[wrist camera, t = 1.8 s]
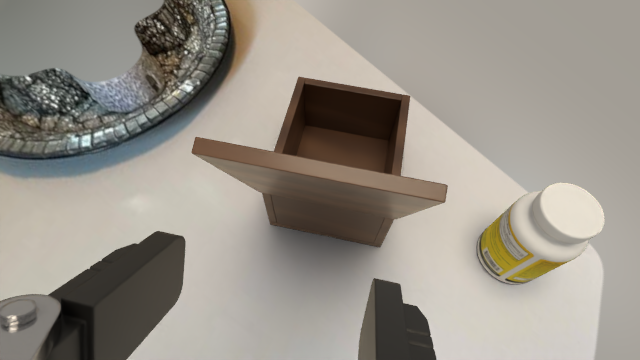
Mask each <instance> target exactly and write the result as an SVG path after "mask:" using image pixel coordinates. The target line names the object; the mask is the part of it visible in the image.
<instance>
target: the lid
mask: <svg viewBox="0 0 640 360" xmlns="http://www.w3.org/2000/svg"><path fill="white" fill-rule="evenodd" d="M192 154H194V155H196V156H198V157H199V158H201V159H203V160H205V161H206V162H208V163H210V164H212V165H213V166H215V167H217V168H218V169H220V170H222V171H224V172H225V173H227V174H229V175H231V176H232V177H234V178H236V179H238V180H239V181H241V182H243V183H245V184H246V185H248V186H250V187H252V188H253V189H255V190H257V191H259V192H261V193H266V194H271V195H276V196H281V197H286V198H291V199H296V200H301V201H306V202H311V203H316V204H321V205H326V206H330V207H335V208H340V209H345V210H350V211H355V212H360V213H365V214H370V215H375V216H380V217H385V218H390V219H398V218H401V217H404V216H407V215H410V214H413V213H416V212H418V211H421V210H424V209H427V208H430V207H433V206H436V205H439V204H442V203H444V202H445V199H446V193H447V187H448V186H447V185H445V184H440V183H435V182H430V181H424V180H419V179H414V178H409V177H403V176H398V175H393V174H388V173H382V172H377V171H372V170H367V169H362V168H356V167H351V166H346V165H341V164H335V163H330V162H325V161H320V160H314V159H309V158H304V157H299V156H294V155H288V154H283V153H278V152H273V151H267V150H262V149H257V148H252V147H246V146H241V145H236V144H231V143H226V142H220V141H215V140H210V139H205V138H199V137H196V138H195V141H194V145H193V149H192Z"/></svg>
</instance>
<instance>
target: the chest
mask: <svg viewBox="0 0 640 360" xmlns="http://www.w3.org/2000/svg"><path fill="white" fill-rule="evenodd" d="M409 101H410V96H408V95H402V94H396V93H390V92H384V91H379V90H373V89H367V88H361V87H355V86H350V85H344V84H338V83H332V82H326V81H321V80H315V79H309V78H303V77H298V80H297V83H296V86H295V89H294V92H293V95H292V98H291V101H290V104H289V107H288V110H287V113H286V116H285V119H284V123H283V126H282V129H281V132H280V135H279V138H278V141H277V144H276V147H275V150H274V152H278V153H283V154H288V155H294V156H299V157H304V158H309V159H314V160H320V161H325V162H330V163H335V164H341V165H346V166H351V167H356V168H362V169H367V170H372V171H377V172H382V173H388V174H393V175H398V176H400V175H401V167H402V159H403V150H404V142H405V134H406V126H407V118H408V110H409ZM262 194H263V198H264V202H265V206H266V210H267V214H268V218H269V221H270V224H271V225H276V226H280V227H285V228H290V229H295V230H300V231H304V232H309V233H314V234H319V235H324V236H328V237H333V238H338V239H343V240H348V241H352V242H357V243H362V244H367V245H372V246H376V247H380V246H381V245H382V243H383V241H384V239H385V237H386V235H387V233H388V231H389V229H390V227H391V225H392V223H393V221H394V219H390V218H385V217H380V216H375V215H370V214H365V213H360V212H355V211H350V210H345V209H340V208H335V207H330V206H326V205H321V204H316V203H311V202H306V201H301V200H296V199H291V198H286V197H281V196H276V195H271V194H266V193H262Z"/></svg>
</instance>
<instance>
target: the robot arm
mask: <svg viewBox="0 0 640 360" xmlns="http://www.w3.org/2000/svg"><path fill="white" fill-rule="evenodd" d="M184 259H185V239H184V237H183V236H179V235H174V234H170V233H165V232H160V231H156V232H154V233H153V234H152V235H150V236H149V237H147V238H146V239H144V240H143V241H142V242H140V243H139V244H132V245H129V246H126V247H123V248H120V249H117V250H115V251H114V252H112V253H111V254H109V255H108V256H106V257H105V258H103V259H102V261H99V262H97V263H96V264H94V265H93V266H91V267H90V269H87V270H85V271H84V272H82V273H81V274H79V275H78V276H76V277H74V278H73V279H71V280H70V281H68V282H67V283H65V284H64V285H62V286H61V287H59V288H58V289H56V290H55V291H53V292H52V293H50V294H49V295H41V294H29V295H21V296H16V297H12V298H8V299H5V300H2V301H0V360H126V359H127V358H128V357H129V356H130V355H131V354H132V353H133V351H134V350H135V349H136V348H137V347H138V346H139V345H140V344H141V342H142V341H143V340H144V339H145V338H146V337H147V336H148V334H149V333H150V332H151V331H152V330H153V329H154V328H155V326H156V325H157V324H158V323H159V322H160V321H161V320H162V318H163V317H164V316H165V315H166V314H167V313H168V312H169V310H170V309H171V308H172V307H173V306H174V305H175V303H176V302H177V300H178V298H179V296H180V293H181V290H182V285H183V273H184ZM430 335H431V334H430V330H429V325H428V321H427V319H426V318H425V316H424V315H423V314H422V312H421V311H420V310H419V309H418V307H417V306H413V305H409V304H404V303H403V300H402V293H401V286H400V284H398V283H393V282H389V281H384V280H380V279H375V278H374V279H373V281H372V285H371V289H370V293H369V298H368V302H367V306H366V311H365V315H364V319H363V324H362V328H361V334H360V341H359V353H358V360H436V355H435V351H434V349H433V342H432V338H431V337H430Z"/></svg>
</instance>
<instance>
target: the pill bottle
mask: <svg viewBox="0 0 640 360" xmlns="http://www.w3.org/2000/svg"><path fill="white" fill-rule="evenodd" d="M604 219H605V218H604V213H603V210H602V207H601V206H600V204H599V203H598V201H597V200H596V199H595V198H594V197H593V196H592V195H591V194H590V193H589V192H587V191H586V190H584V189H582V188H580V187H578V186H576V185H573V184H569V183H556V184H552V185H550V186H548V187H546V188H545V189H544V190H542V191H538V192H532V193H528V194H526V195H524V196H522V197H521V198H519V199H518V200H517V201H516V202H515V203H514V204H513V205H511V206H510V207H509V208H508V209H507V210H506V211H505V212H504V213H503V214H502V215H501V216H500V217H499V218H497V219H496V220H495V221H494V222H493V223H492V224H491V225H490V226H489V227H488V228H487V229H486V230H485V231H484V232H483V233H482V234H481V236H480V238H479V240H478V245H477V251H478V256H479V259H480V261H481V263H482V265H483V266H484V268H485V269H486V270H487V271H488V272H489V273H490V274H491V275H492V276H493V277H495V278H497V279H498V280H500V281H503V282H505V283H509V284H523V283H526V282H529V281H531V280H533V279H535V278H537V277H539V276H541V275H543V274H545V273H547V272H549V271H551V270H553V269H555V268H557V267H559V266H561V265H563V264H565V263H567V262H569V261H571V260H573V259H575V258H577V257H578V256H579V255H581V254H582V253H583V251H584V250H585V249H586V247H587V245H588V243H589V239H591V238H592V237H594V236H596V235H597V234H598V233H599V232H600V231H601V230H602V228H603V225H604Z"/></svg>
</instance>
